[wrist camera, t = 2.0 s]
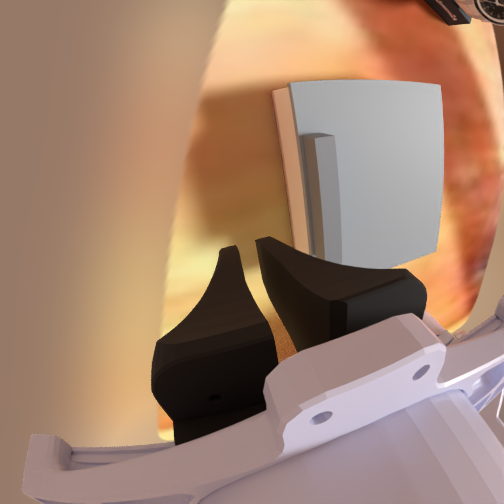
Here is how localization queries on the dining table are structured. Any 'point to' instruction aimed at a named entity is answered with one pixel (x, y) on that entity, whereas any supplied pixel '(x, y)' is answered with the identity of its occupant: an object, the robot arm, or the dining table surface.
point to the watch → (469, 10)
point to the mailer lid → (370, 169)
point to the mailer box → (291, 167)
